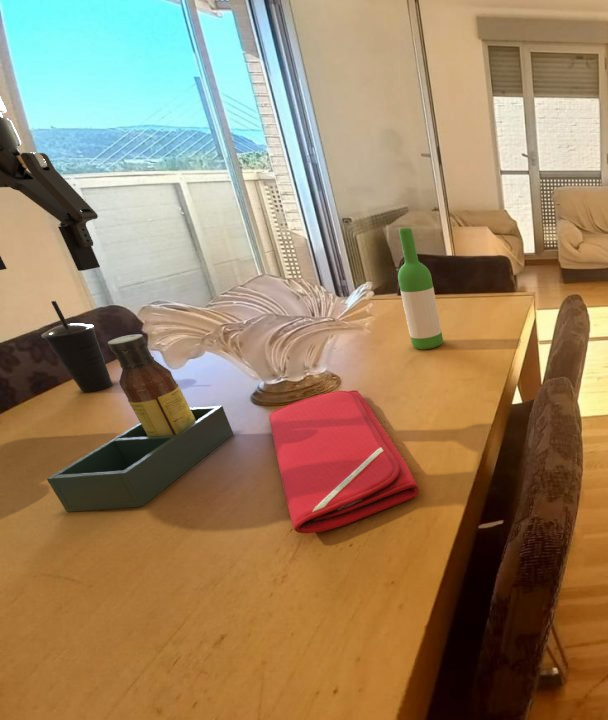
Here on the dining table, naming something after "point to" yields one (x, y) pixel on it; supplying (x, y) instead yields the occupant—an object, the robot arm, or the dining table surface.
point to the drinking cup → (79, 353)
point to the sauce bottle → (150, 388)
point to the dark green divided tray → (138, 464)
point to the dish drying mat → (336, 461)
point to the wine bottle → (418, 297)
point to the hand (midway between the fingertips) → (42, 270)
